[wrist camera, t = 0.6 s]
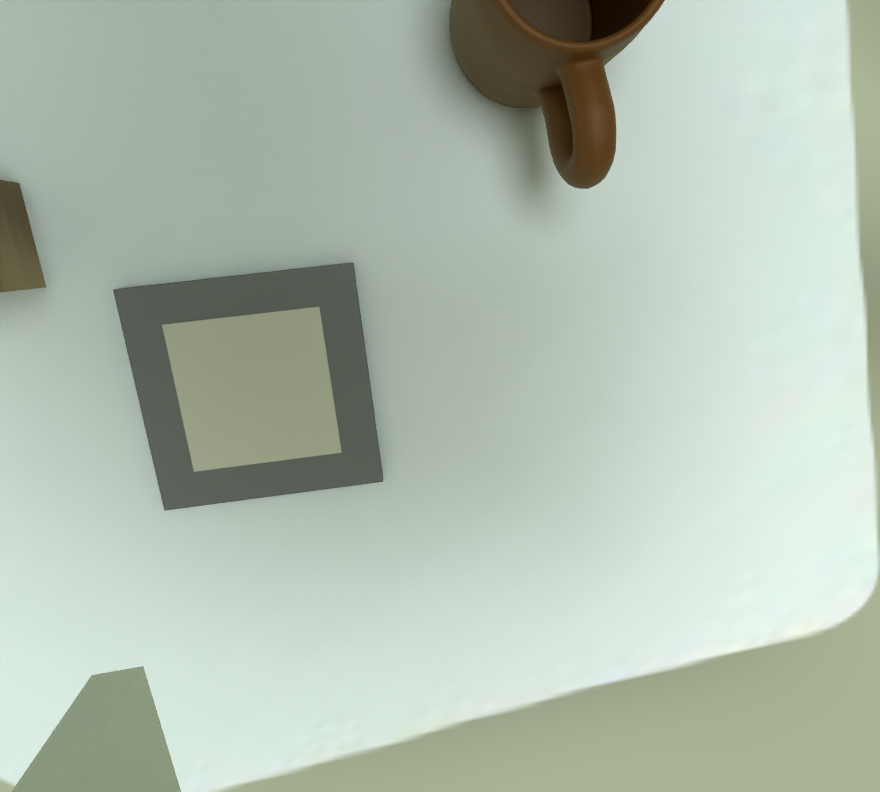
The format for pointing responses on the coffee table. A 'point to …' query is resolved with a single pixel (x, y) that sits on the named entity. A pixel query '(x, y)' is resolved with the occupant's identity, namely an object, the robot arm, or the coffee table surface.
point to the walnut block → (17, 243)
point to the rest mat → (252, 384)
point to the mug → (553, 68)
